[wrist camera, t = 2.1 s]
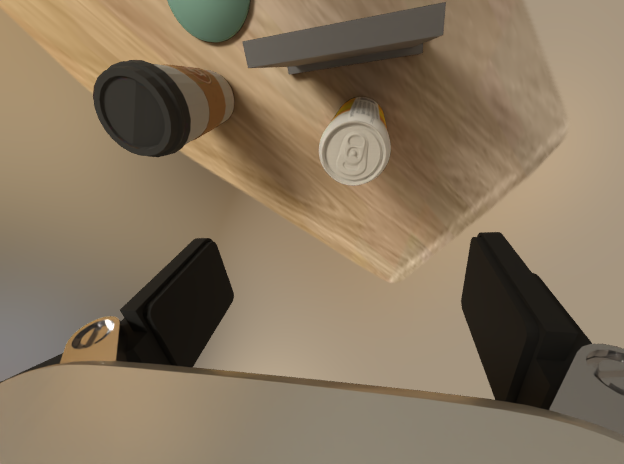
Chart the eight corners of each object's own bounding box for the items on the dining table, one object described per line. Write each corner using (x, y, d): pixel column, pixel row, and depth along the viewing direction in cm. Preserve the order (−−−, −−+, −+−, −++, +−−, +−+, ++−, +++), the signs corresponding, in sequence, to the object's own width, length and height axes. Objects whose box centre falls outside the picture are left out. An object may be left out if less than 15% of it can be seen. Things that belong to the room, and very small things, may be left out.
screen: (286, 44, 33) (226, 31, 19) (422, 19, 29) (466, -18, 16) (290, 74, 34) (238, 81, 21) (421, 53, 31) (459, 45, 17)
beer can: (332, 142, 37) (312, 183, 25) (340, 92, 34) (321, 109, 22) (377, 150, 37) (381, 195, 24) (390, 100, 34) (400, 122, 21)
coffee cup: (250, 79, 35) (183, 87, 23) (234, 140, 40) (171, 176, 27) (189, 48, 35) (84, 40, 22) (180, 114, 39) (89, 138, 27)
